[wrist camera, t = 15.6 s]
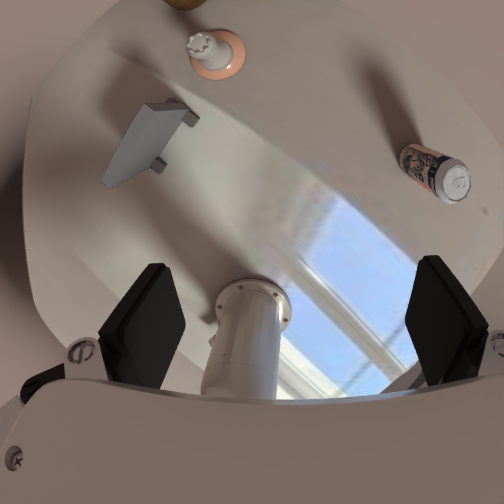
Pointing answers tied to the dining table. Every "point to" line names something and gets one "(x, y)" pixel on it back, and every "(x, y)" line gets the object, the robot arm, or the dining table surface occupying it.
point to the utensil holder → (185, 4)
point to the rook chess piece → (210, 51)
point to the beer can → (436, 172)
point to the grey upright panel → (147, 140)
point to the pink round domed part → (235, 64)
